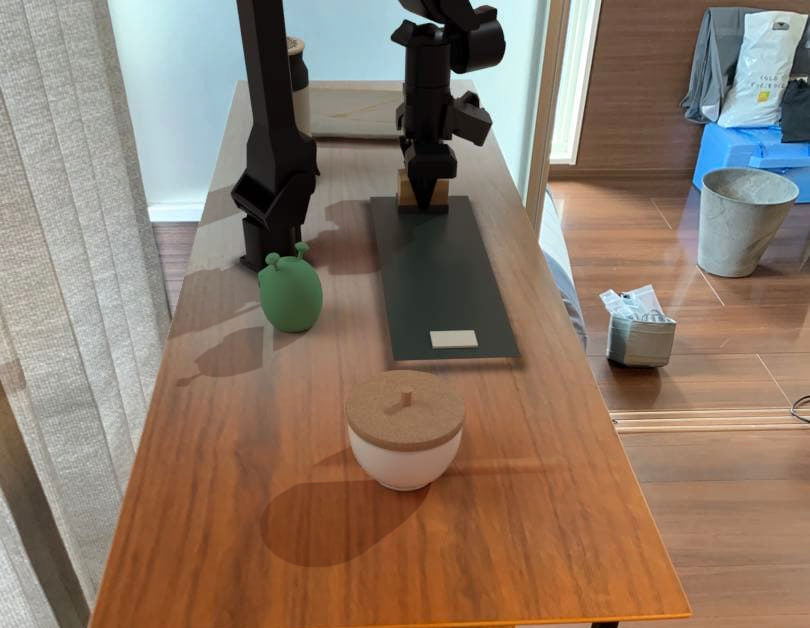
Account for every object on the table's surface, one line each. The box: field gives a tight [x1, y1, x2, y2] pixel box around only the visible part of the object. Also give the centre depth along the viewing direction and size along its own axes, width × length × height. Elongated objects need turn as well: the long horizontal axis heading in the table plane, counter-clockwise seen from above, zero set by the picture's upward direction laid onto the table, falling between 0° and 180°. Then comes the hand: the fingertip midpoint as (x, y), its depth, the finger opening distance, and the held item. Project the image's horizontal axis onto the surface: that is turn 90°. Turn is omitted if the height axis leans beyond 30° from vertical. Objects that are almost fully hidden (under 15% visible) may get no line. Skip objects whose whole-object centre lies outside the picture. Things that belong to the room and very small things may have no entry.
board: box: [369, 195, 522, 362], centre depth 104 cm, size 40×14×1 cm, turn 5°
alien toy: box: [257, 241, 324, 333], centre depth 91 cm, size 7×8×10 cm
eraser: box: [395, 168, 450, 214], centre depth 113 cm, size 4×7×4 cm, turn 95°
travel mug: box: [286, 35, 313, 138], centre depth 116 cm, size 8×8×18 cm
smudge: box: [430, 330, 478, 349], centre depth 92 cm, size 3×5×1 cm, turn 96°
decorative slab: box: [309, 86, 404, 140], centre depth 138 cm, size 27×21×2 cm
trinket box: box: [345, 369, 467, 492], centre depth 76 cm, size 11×11×9 cm
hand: (421, 203), depth 114 cm, fingers closed on eraser, 4 cm apart
